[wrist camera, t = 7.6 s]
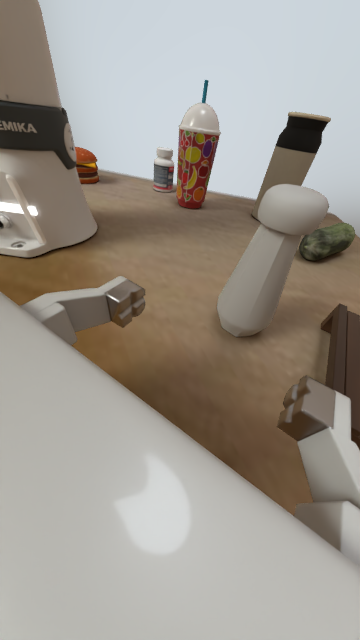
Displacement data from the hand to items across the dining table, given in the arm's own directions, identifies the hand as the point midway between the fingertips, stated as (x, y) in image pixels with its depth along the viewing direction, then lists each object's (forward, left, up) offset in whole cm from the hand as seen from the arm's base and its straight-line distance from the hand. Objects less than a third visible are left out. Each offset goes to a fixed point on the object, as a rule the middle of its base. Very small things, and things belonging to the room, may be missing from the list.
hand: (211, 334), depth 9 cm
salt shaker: (+7, +8, -9) cm, 14 cm away
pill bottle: (+2, +60, -9) cm, 60 cm away
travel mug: (+27, +44, -9) cm, 52 cm away
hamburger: (-20, +62, -9) cm, 65 cm away
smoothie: (+8, +49, -9) cm, 50 cm away
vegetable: (+30, +27, -9) cm, 41 cm away
